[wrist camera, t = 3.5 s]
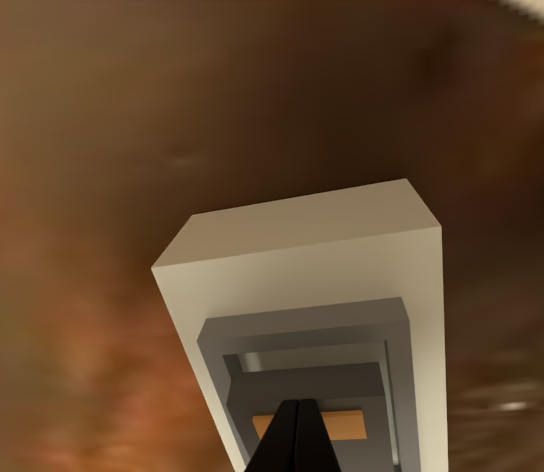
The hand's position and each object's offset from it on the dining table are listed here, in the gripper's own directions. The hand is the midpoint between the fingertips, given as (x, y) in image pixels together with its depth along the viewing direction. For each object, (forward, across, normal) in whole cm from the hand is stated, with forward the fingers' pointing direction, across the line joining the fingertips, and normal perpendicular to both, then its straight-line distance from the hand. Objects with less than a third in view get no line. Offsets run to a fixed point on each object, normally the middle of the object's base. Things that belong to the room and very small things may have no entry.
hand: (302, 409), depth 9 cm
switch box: (+6, 0, +9) cm, 11 cm away
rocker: (+1, 0, +3) cm, 3 cm away
